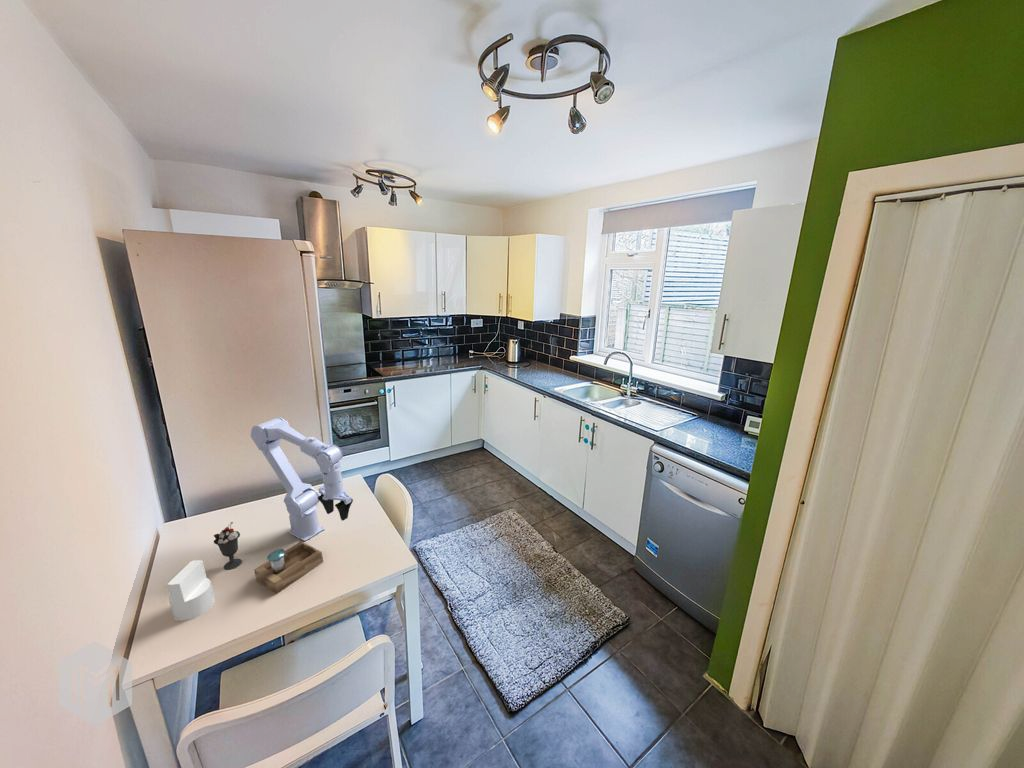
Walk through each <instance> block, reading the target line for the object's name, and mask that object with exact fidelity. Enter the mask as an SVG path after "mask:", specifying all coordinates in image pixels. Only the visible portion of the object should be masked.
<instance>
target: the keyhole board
mask: <svg viewBox="0 0 1024 768" xmlns="http://www.w3.org/2000/svg"><path fill="white" fill-rule="evenodd" d="M284 551H285V555H284V561H285V566H286V569H285V570H284V571H282V572H281V573H279V574H278V575H275V574H274V573H273V572H272V567H271V562H270V561H268V560H267V561H266V562H264V563H263V564H261V565H258V567H256V568H255V569H253V571H254V575H255V579H256V581H257V582H259V583H260V584H261V585H263V586H264V587H266V588H268V589H269V590H271V591H272V592H274V594H279V593H281V592H282V591H284V590H285V589H286V588H288V587H289V586H291V585H292V584H293V583H295V582H296V581H298V580H299V579H301V578H302V577H304V576H305V575H306V574H309V572H311V571H312V570H314V569H315V568H317V567H318V566H319V565H321V564H322V563H324V557H323V552H322V551H320V550H319V549H317V548H315V547H313V546H311V545H310V544H308V543H305V541H304V542H303V540H301V541H299V542H297V543H296V544H294V545H292V546H291V547H289V548H288V549H285V550H284Z"/></svg>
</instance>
